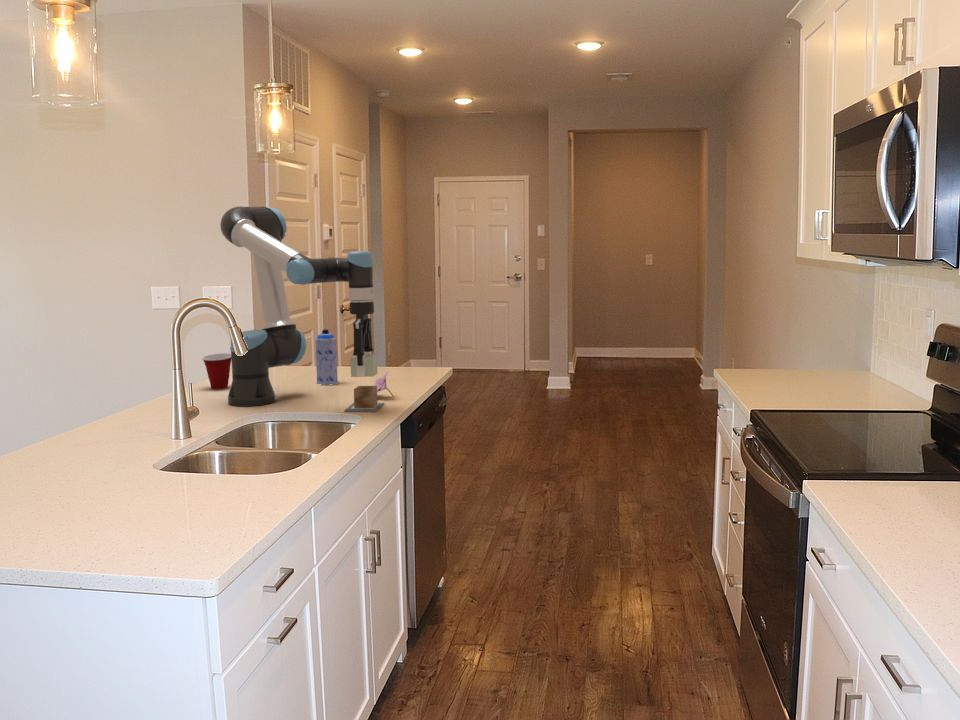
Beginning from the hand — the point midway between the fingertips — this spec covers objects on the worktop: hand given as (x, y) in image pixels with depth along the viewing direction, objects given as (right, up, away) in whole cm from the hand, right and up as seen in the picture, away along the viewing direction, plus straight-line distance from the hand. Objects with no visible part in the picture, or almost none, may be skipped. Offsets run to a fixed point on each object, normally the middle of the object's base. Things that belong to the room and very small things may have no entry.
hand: (364, 373), depth 279 cm
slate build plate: (0, -11, +2) cm, 11 cm away
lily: (+3, -9, +19) cm, 21 cm away
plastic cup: (-58, -6, +42) cm, 72 cm away
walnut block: (0, -10, +1) cm, 10 cm away
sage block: (0, 0, 0) cm, 0 cm away
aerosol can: (-20, -5, +49) cm, 53 cm away
